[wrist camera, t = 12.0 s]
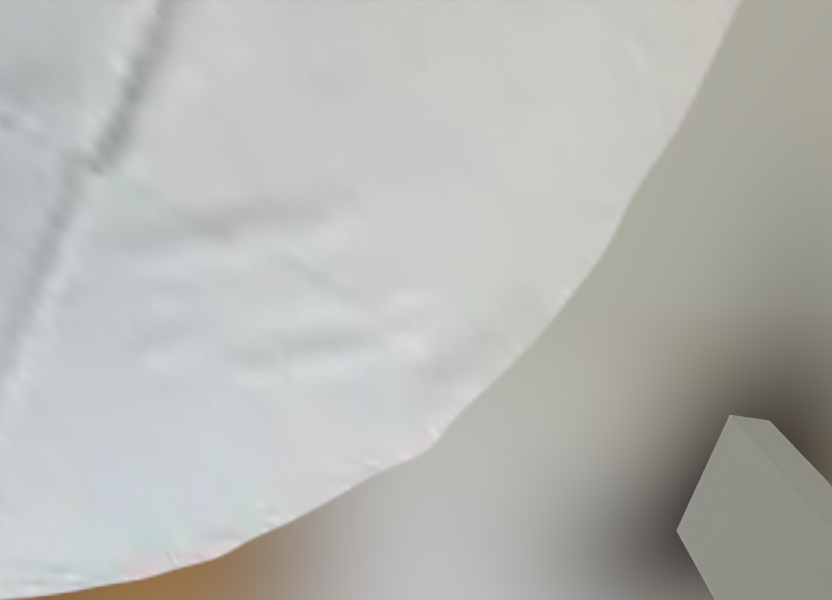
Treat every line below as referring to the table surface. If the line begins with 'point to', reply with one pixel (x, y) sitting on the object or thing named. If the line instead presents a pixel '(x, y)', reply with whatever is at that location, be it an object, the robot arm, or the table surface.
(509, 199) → the table surface
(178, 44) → the table surface
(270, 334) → the table surface
